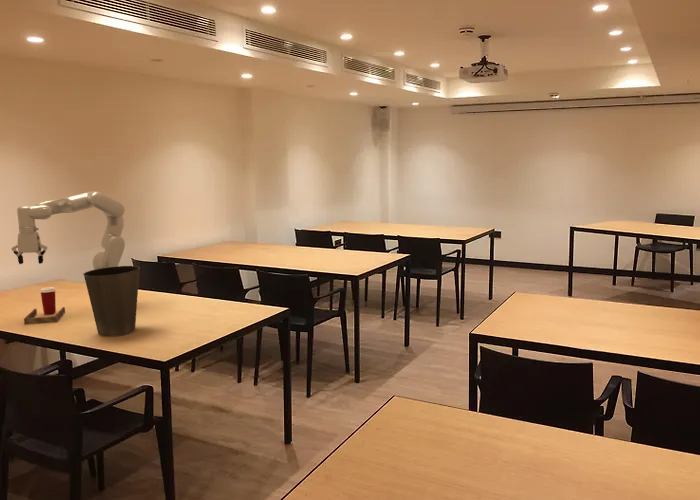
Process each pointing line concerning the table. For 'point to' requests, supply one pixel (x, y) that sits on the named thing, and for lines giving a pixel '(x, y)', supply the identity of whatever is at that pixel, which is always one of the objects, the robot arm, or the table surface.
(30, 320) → the u rest
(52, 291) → the paper cup
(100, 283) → the waste basket
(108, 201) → the robot arm
